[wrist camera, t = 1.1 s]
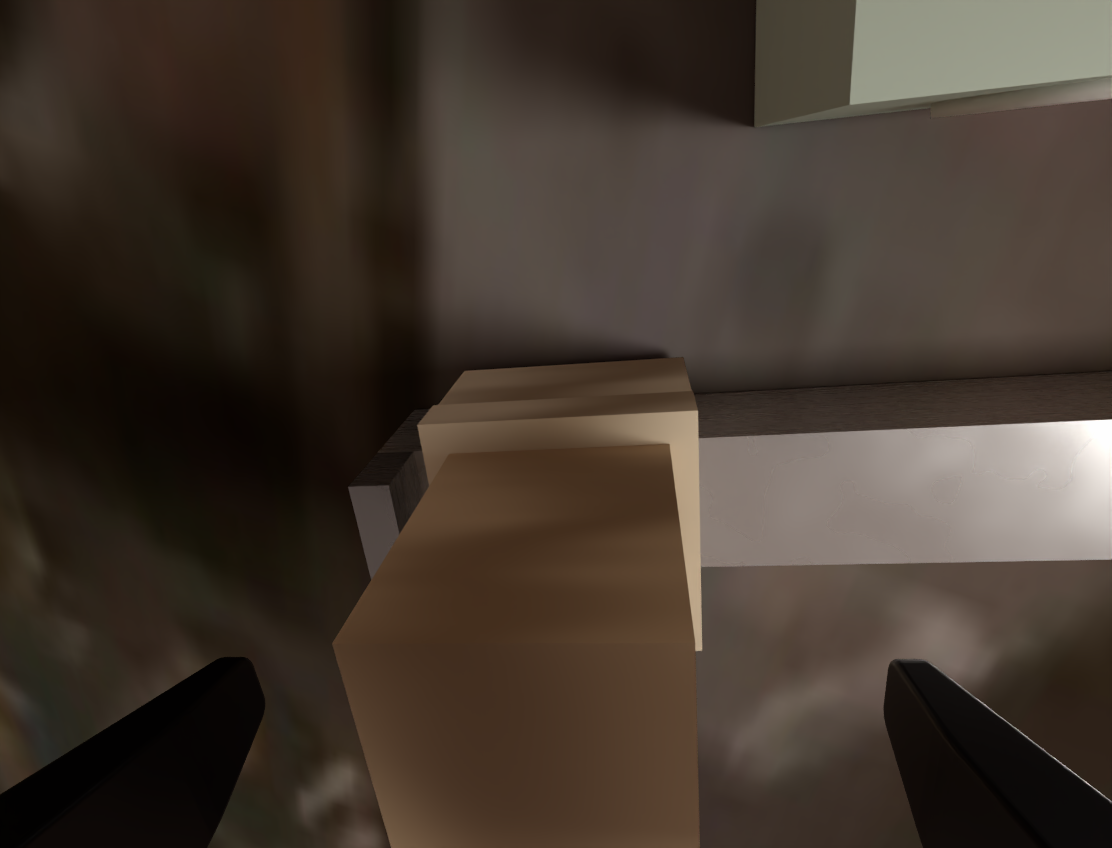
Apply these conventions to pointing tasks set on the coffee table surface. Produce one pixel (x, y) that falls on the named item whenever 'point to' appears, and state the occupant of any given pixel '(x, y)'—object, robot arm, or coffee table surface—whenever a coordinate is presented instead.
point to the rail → (863, 474)
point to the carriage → (540, 617)
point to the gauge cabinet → (927, 56)
